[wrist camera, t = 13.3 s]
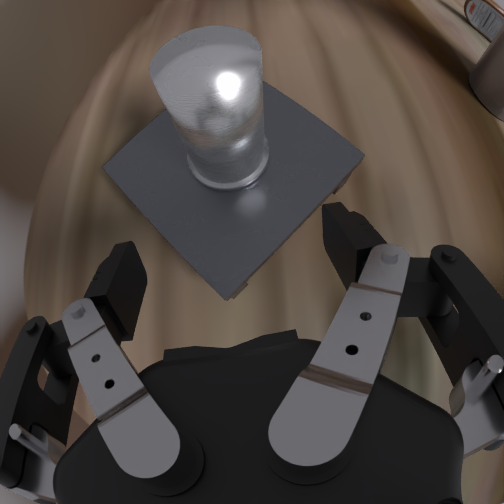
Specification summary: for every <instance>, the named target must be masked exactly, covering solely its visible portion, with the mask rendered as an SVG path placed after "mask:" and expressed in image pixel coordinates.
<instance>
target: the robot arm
mask: <svg viewBox="0 0 504 504" xmlns="http://www.w3.org/2000/svg"><path fill="white" fill-rule="evenodd" d="M469 83H470V85H471V88H472V89H473V91H474V93H475V94H476V96H477V97H478V99H479V100H480V101H481V103H482V104H483V105H484V106H485V107H486V108H487V109H488V110H489V111H490V112H491V113H492V114H493V115H495V116H496V117H497V118H499V119H501V120H502V121H504V23H503V25H502V27H501V28H500V30H499V31H498V33H497V34H496V36H495V37H494V39H493V40H492V42H491V43H490V45H489V46H488V48H487V49H486V51H485V52H484V54H483V55H482V57H481V58H480V59H479V61H478V62H477V64H476V65H475V67H474V68H473V70H472V71H471V72H470V74H469ZM322 222H323V241H324V246H325V250H326V252H327V254H328V256H329V258H330V260H331V262H332V263H333V265H334V267H335V269H336V271H337V273H338V275H339V277H340V279H341V280H342V282H343V284H344V286H345V288H346V290H347V293H346V295H345V297H344V299H343V301H342V303H341V305H340V307H339V309H338V311H337V313H336V315H335V317H334V319H333V321H332V323H331V325H330V327H329V329H328V331H327V333H326V335H325V337H324V339H323V341H322V342H320V341H316V340H310V339H298V336H297V332H296V329H294V330H289V331H284V332H279V333H273V334H268V335H263V336H260V337H257V338H255V339H252V340H250V341H247V342H244V343H242V344H239V345H236V346H233V347H230V348H215V347H201V346H191V347H183V348H175V349H166V350H164V357H163V360H161V361H158V362H156V363H154V364H152V365H150V366H148V367H147V368H145V369H144V370H142V371H141V372H140V373H138V372H137V370H136V369H135V367H134V366H133V364H132V363H131V361H130V360H129V358H128V357H127V355H126V354H125V352H124V351H123V349H122V348H121V346H120V345H121V341H131V340H133V336H134V332H135V328H136V324H137V320H138V316H139V312H140V308H141V304H142V301H143V297H144V293H145V290H146V286H147V274H146V271H145V268H144V266H143V264H142V261H141V259H140V256H139V254H138V251H137V249H136V246H135V244H134V243H133V242H132V241H128V242H124V243H119V244H116V245H115V246H114V247H113V249H112V251H111V253H110V255H109V257H107V258H106V259H105V260H104V261H103V262H102V263H101V264H100V265H99V267H98V269H97V271H96V274H95V275H94V277H93V281H91V283H90V285H89V287H88V289H87V291H86V293H85V296H84V298H82V299H79V300H76V301H74V302H73V303H71V304H70V305H69V306H68V307H67V308H66V309H65V311H64V312H63V315H62V320H60V321H58V322H55V323H53V324H50V325H49V324H48V322H47V321H46V319H45V318H44V317H42V316H37V317H34V318H32V319H31V320H29V321H28V322H27V323H26V324H25V325H24V326H23V328H22V329H21V332H20V334H19V336H18V338H17V340H16V342H15V344H14V347H13V349H12V352H11V354H10V356H9V358H8V361H7V363H6V366H5V368H4V371H3V373H2V376H1V378H0V484H1V485H2V486H3V487H4V488H6V489H8V490H10V491H12V492H14V493H16V494H18V495H20V496H22V497H24V498H26V499H29V500H33V501H35V502H37V503H40V504H56V503H57V504H463V501H462V495H461V471H462V463H463V459H465V458H467V457H469V456H471V455H473V454H474V453H476V452H478V451H480V450H482V449H485V450H495V449H497V448H499V447H500V446H502V445H503V444H504V300H503V299H502V298H501V296H500V295H499V294H498V293H497V291H496V290H495V289H494V288H493V286H492V285H491V284H490V283H489V281H488V280H487V279H486V278H485V277H484V275H483V274H482V273H481V272H480V271H479V270H478V268H477V267H476V266H475V265H474V264H473V263H472V262H471V260H470V259H469V258H468V257H467V256H466V255H465V254H464V253H463V252H462V251H461V250H460V249H458V248H456V247H454V246H450V245H438V246H435V247H434V248H433V249H432V250H431V255H430V258H413V257H410V255H409V253H408V252H407V251H406V250H405V249H404V248H402V247H400V246H398V245H394V244H387V242H386V241H385V240H384V239H383V238H382V236H381V235H380V234H379V233H378V232H377V231H376V230H375V229H374V227H373V226H372V225H371V224H369V222H368V220H367V219H366V218H365V217H364V216H363V215H361V214H359V213H357V212H355V211H353V212H349V211H348V210H347V209H346V208H345V206H344V205H343V204H342V203H341V202H336V203H329V204H323V206H322ZM453 304H454V305H455V307H456V308H457V310H458V313H459V314H458V313H457V311H456V310H455V308H454V307H453ZM398 317H418V318H419V320H420V322H421V323H422V325H423V327H424V329H425V331H426V333H427V334H428V336H429V338H430V340H431V342H432V344H433V346H434V348H435V350H436V352H437V354H438V356H439V358H440V360H441V362H442V364H443V366H444V368H445V370H446V372H447V374H448V376H449V378H450V380H451V383H452V385H453V387H454V388H453V389H452V391H451V393H450V396H449V404H450V408H451V415H450V414H449V413H448V412H447V411H445V410H444V409H442V408H441V407H439V406H437V405H435V404H433V403H432V402H430V401H428V400H426V399H424V398H422V397H421V396H419V395H417V394H415V393H413V392H412V391H410V390H408V389H406V388H404V387H403V386H401V385H399V384H397V383H396V382H394V381H392V380H390V379H389V378H387V377H385V376H383V375H382V374H381V371H382V368H383V365H384V361H385V358H386V355H387V352H388V349H389V346H390V343H391V339H392V336H393V333H394V329H395V326H396V322H397V318H398ZM41 364H42V365H43V366H44V367H45V368H46V369H47V371H48V372H49V374H48V377H47V381H46V384H45V388H44V391H43V390H42V389H41V388H40V387H39V385H38V381H37V376H38V373H39V370H40V367H41ZM79 380H80V383H81V385H82V387H83V389H84V392H85V394H86V396H87V398H88V401H89V403H90V405H91V407H92V409H93V411H94V413H95V415H96V417H97V418H96V420H95V421H94V422H93V423H92V424H91V425H90V426H89V427H88V428H87V429H86V430H85V431H84V433H83V434H82V435H81V436H80V437H79V438H78V439H77V440H76V441H75V442H74V443H73V444H72V446H71V447H70V448H69V449H68V450H67V449H66V444H67V438H68V431H69V426H70V420H71V415H72V410H73V405H74V400H75V396H76V391H77V387H78V382H79Z"/></svg>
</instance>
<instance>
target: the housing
mask: <svg viewBox="0 0 504 504" xmlns="http://www.w3.org/2000/svg"><path fill="white" fill-rule="evenodd" d="M150 76H151V79H152V81H153V83H154V85H155V87H156V89H157V91H158V93H159V95H160V97H161V100H162V102H163V104H164V106H165V108H166V110H167V112H168V114H169V116H170V118H171V120H172V122H173V124H174V126H175V129H176V131H177V133H178V135H179V137H180V139H181V141H182V143H183V145H184V147H185V149H186V151H187V160H188V165H189V167H190V169H191V171H192V173H193V175H194V177H195V178H196V179H197V180H198V181H199V182H200V183H201V184H202V185H203V186H205V187H207V188H209V189H212V190H215V191H220V192H232V191H237V190H241V189H244V188H246V187H248V186H250V185H251V184H253V183H254V182H255V181H257V180H258V179H259V178H260V177H261V176H262V174H263V173H264V171H265V169H266V167H267V164H268V160H269V144H268V141H267V138H266V136H265V135H264V108H263V76H262V51H261V46H260V44H259V42H258V41H257V39H256V38H255V37H254V36H253V35H251V34H250V33H248V32H246V31H244V30H242V29H239V28H235V27H230V26H206V27H200V28H196V29H193V30H189V31H187V32H184V33H182V34H180V35H178V36H176V37H174V38H173V39H171V40H170V41H168V42H167V43H166V44H164V45H163V46H162V47H161V48H160V49H159V50H158V51H157V53H156V54H155V56H154V57H153V59H152V61H151V64H150Z"/></svg>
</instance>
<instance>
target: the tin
mask: <svg viewBox="0 0 504 504" xmlns="http://www.w3.org/2000/svg"><path fill="white" fill-rule="evenodd" d="M464 13H465V16H466V18H467V20H468V21H469V23H470V24H471V25H472V26H473V27H474V28H475V29H476V30H477V31H478V32H479V33H481V34H482V35H483V36H484V37H485V38H486V39H487V40H489V41H490V42H492V40H493V39H494V37H495V36H496V34H497V33H498V31H499V30H500V28H501V27H502V25H503V23H504V10H503V9H502V8H501V7H500V6H499V5H497V4H496V3H495V2H494V1H492V0H466V2H465V4H464Z"/></svg>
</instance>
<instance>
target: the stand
mask: <svg viewBox="0 0 504 504" xmlns="http://www.w3.org/2000/svg"><path fill="white" fill-rule="evenodd" d="M263 108H264V135H265V136H266V138H267V141H268V144H269V160H268V164H267V167H266V169H265V171H264V173H263V174H262V176H261V177H260V178H259V179H258V180H257V181H255V182H254V183H253V184H251V185H250V186H248V187H246V188H244V189H241V190H237V191H232V192H220V191H215V190H212V189H209V188H207V187H205V186H203V185H202V184H201V183H200V182H199V181H198V180H197V179H196V178H195V177H194V175H193V173H192V171H191V169H190V167H189V165H188V160H187V151H186V149H185V147H184V145H183V143H182V141H181V139H180V137H179V135H178V133H177V131H176V129H175V126H174V124H173V122H172V120H171V118H170V116H169V114H168V112H167V110H165V111H163V112H162V113H161V114H160V115H159V116H157V117H156V118H155V119H154V120H153V121H152V122H150V123H149V124H148V125H147V126H146V127H145V128H144V129H142V130H141V131H140V132H139V133H138V134H137V135H136V136H135V137H134V138H132V139H131V140H130V141H129V142H128V143H127V144H126V145H125V146H124V147H123V148H122V149H121V150H120V151H119V152H118V153H117V154H116V155H115V156H114V157H113V158H112V159H111V160H110V161H109V162H108V163H107V164H106V165H105V166H104V167H103V169H104V170H105V171H106V172H107V173H108V175H109V176H110V177H111V178H112V179H113V180H114V182H115V183H116V184H117V185H118V186H119V187H120V189H121V190H122V191H123V192H124V193H125V194H126V195H127V197H128V198H129V199H130V200H131V201H132V202H133V203H134V204H135V206H136V207H137V208H138V209H139V210H140V211H141V212H142V213H143V214H144V216H145V217H146V218H147V219H148V220H149V221H150V222H151V223H152V224H153V226H154V227H155V228H156V229H157V230H158V231H159V232H160V233H161V234H162V235H163V236H164V237H165V239H166V240H167V241H168V242H169V243H170V244H171V245H172V246H173V247H174V248H175V249H176V250H177V251H178V252H179V253H180V255H181V256H182V257H183V258H184V259H185V260H186V261H187V262H188V263H189V264H190V265H191V266H192V267H193V268H194V269H195V270H196V271H197V272H198V273H199V274H200V275H201V276H202V277H203V279H204V280H205V281H206V282H207V283H208V284H209V285H210V286H211V287H212V288H213V289H214V290H215V291H216V292H217V293H218V294H219V295H220V296H221V297H222V298H223V299H224V300H226V301H228V300H229V299H230V298H233V299H234V298H235V297H236V296H237V295H238V294H239V293H240V292H241V291H242V290H243V289H244V288H245V287H246V286H247V285H248V283H247V281H248V279H249V278H250V277H251V276H252V275H253V274H254V273H255V272H256V271H257V270H258V269H259V268H260V267H261V266H262V265H263V264H264V263H265V262H266V261H267V260H268V259H269V258H270V257H271V256H272V255H273V254H274V253H275V252H276V251H277V250H278V249H279V248H280V247H281V246H282V245H283V244H284V243H285V242H286V241H287V240H288V238H289V237H290V236H291V235H292V234H293V233H294V232H295V231H296V230H297V229H298V228H299V227H300V226H301V225H302V224H303V223H304V222H305V221H306V220H307V219H308V218H309V217H310V216H311V215H312V214H313V212H314V211H315V210H316V209H317V208H318V207H319V206H320V205H321V204H322V203H323V202H324V201H325V200H326V199H327V198H328V197H329V196H330V195H331V194H332V193H334V194H336V193H337V192H338V190H339V189H340V188H341V187H342V186H343V185H344V184H345V183H346V181H347V180H348V178H349V176H350V174H351V173H352V171H353V170H354V169H355V168H356V167H357V166H358V165H359V164H360V163H361V161H362V160H363V158H364V156H365V155H364V154H363V153H362V152H361V151H360V150H358V149H357V148H356V147H355V146H354V145H352V144H351V143H350V142H349V141H347V140H346V139H345V138H344V137H342V136H341V135H340V134H339V133H337V132H336V131H335V130H333V129H332V128H331V127H329V126H328V125H327V124H326V123H324V122H323V121H321V120H320V119H319V118H317V117H316V116H315V115H313V114H312V113H311V112H309V111H308V110H306V109H305V108H303V107H302V106H301V105H299V104H298V103H296V102H295V101H293V100H292V99H290V98H289V97H287V96H286V95H284V94H283V93H281V92H280V91H278V90H277V89H275V88H274V87H272V86H270V85H269V84H267V83H266V82H264V81H263Z"/></svg>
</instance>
